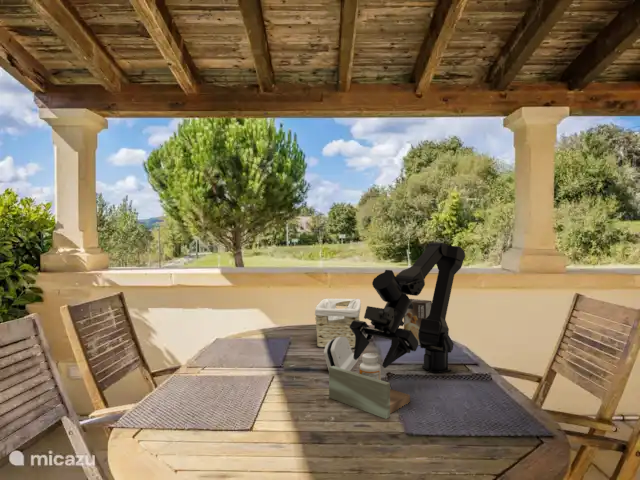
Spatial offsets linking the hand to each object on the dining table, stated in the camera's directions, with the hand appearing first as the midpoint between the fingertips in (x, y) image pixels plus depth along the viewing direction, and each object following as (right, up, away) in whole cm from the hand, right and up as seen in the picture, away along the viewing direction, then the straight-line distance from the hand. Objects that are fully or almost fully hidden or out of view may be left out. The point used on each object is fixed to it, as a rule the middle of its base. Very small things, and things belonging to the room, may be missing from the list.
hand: (368, 362), depth 111 cm
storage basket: (-5, -8, +58) cm, 59 cm away
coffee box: (+24, -8, +53) cm, 59 cm away
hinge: (-6, -9, +28) cm, 30 cm away
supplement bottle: (0, -8, +1) cm, 8 cm away
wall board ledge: (0, -10, +1) cm, 10 cm away
